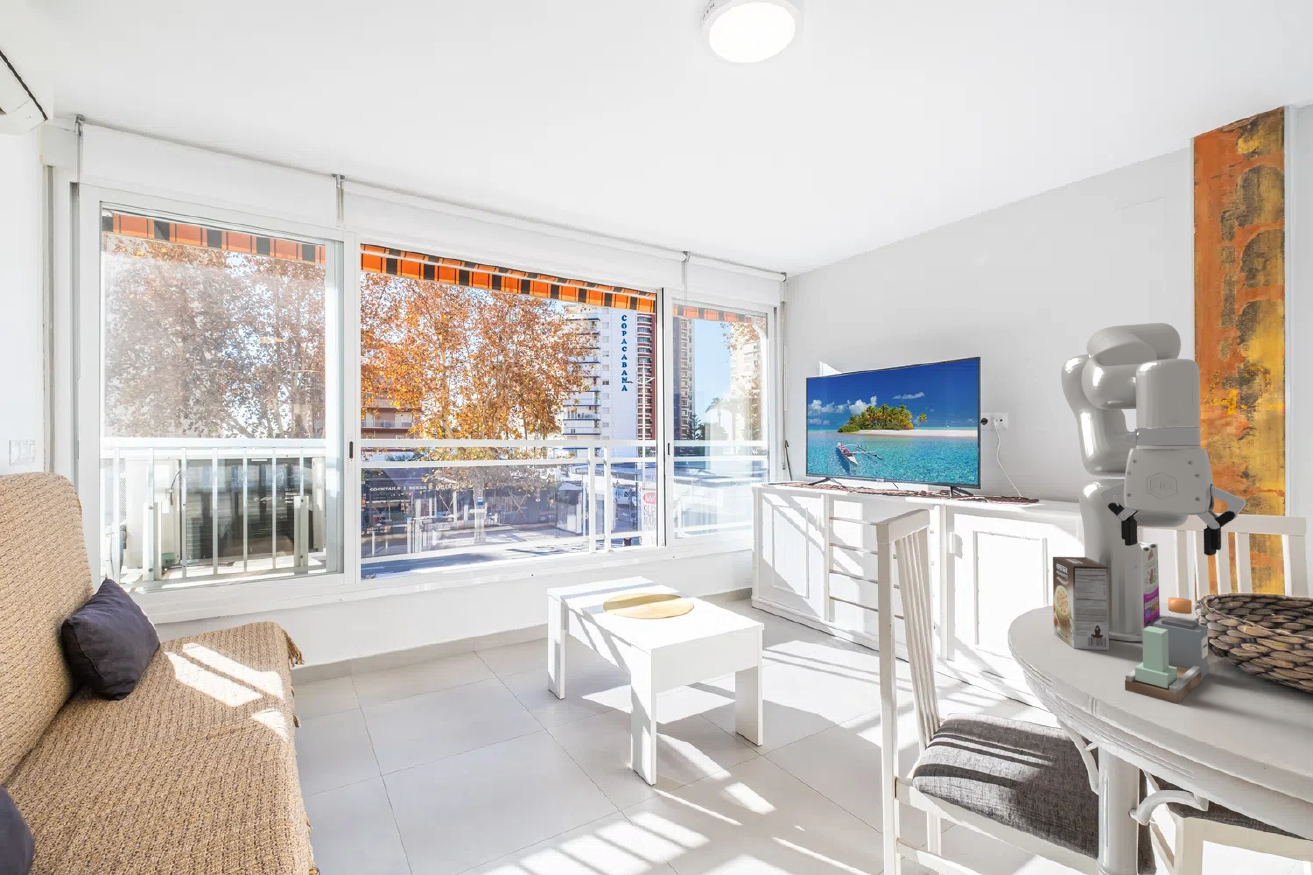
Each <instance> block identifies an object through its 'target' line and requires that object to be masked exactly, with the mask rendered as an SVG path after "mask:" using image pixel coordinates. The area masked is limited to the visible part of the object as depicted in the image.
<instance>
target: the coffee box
mask: <svg viewBox="0 0 1313 875" xmlns="http://www.w3.org/2000/svg"><path fill="white" fill-rule="evenodd" d="M1052 587H1053V588H1052V589H1053V590H1052V596H1053V597H1052V599H1053V609H1052V610H1053V634H1054V635H1055V636H1057V637H1058V638H1060V639H1061V640H1062V641H1064V643H1066V644H1067V645H1069V646H1070V647H1071V648H1073V649H1079V650H1095V651H1096V650H1098V651H1099V650H1100V651H1109V650H1110V643H1109V642H1110V639H1109V593H1108V567H1107V566H1105V565H1102V564H1100V563H1098V562H1096V561H1093V560H1091V559H1089V558H1087V557H1085V556H1079V557H1078V556H1052Z"/></svg>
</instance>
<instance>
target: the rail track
mask: <svg viewBox="0 0 1313 875" xmlns="http://www.w3.org/2000/svg"><path fill="white" fill-rule="evenodd" d="M1169 666H1172V667H1176V668H1177V680H1176V681H1175V682H1174V683H1173V684H1172V685H1170V686H1169V688H1164V687H1160V686H1156V685H1153V684H1149V683H1145V682H1141V681H1137V680H1135V668H1134V669H1132V670H1131V671H1130V672H1128V673H1127V674H1126V675H1125V679H1124V690H1125V691H1128V692H1133V693H1137V694H1141V695H1144V696H1147V697H1151V698H1155V699H1158V700H1162V701H1166V702H1168V703H1173V704H1177V705H1178V703H1180V702H1181V701H1183V700H1182V699H1184V698H1185V697H1186V696H1187V695H1188V694H1189V693H1190V692H1191V691H1193V689H1194V688H1196V686H1198V685H1199V684H1200V683H1201V682H1202V679H1201V672H1200V667H1198V666H1193V667H1192V668H1190V669H1186V668H1182V667H1177V666H1173V665H1169Z"/></svg>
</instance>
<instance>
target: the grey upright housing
mask: <svg viewBox="0 0 1313 875" xmlns="http://www.w3.org/2000/svg"><path fill="white" fill-rule="evenodd" d="M1153 627H1157V628H1162V629H1167V630H1168V656H1169V665H1173V666H1177V667H1182V668H1186V669H1190V668H1192V667H1193V666H1198V667H1200V672H1201V680H1203V679H1204V678H1205V677H1206V676H1207V675H1208V674H1209V642H1208V640H1209V639H1208V638H1209V637H1208V626H1207V625H1202V624H1200V622H1199V621H1197V620H1190V619H1186V618H1181V617H1175V616H1167V617H1162V618H1160V619H1157V620H1156V621H1154V622H1153Z"/></svg>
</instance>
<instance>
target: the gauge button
mask: <svg viewBox="0 0 1313 875" xmlns="http://www.w3.org/2000/svg"><path fill="white" fill-rule="evenodd" d="M1167 602H1168V603H1167V604H1168V611H1170V612H1172V613H1176V614H1184V615H1190V614H1192V613H1193V612H1192V611H1193V610H1192V609H1193V608H1192V606H1193V604H1192V600H1191V599H1188V598H1183V597H1175V596H1174V597H1172V596H1170V597H1168V600H1167Z"/></svg>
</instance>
